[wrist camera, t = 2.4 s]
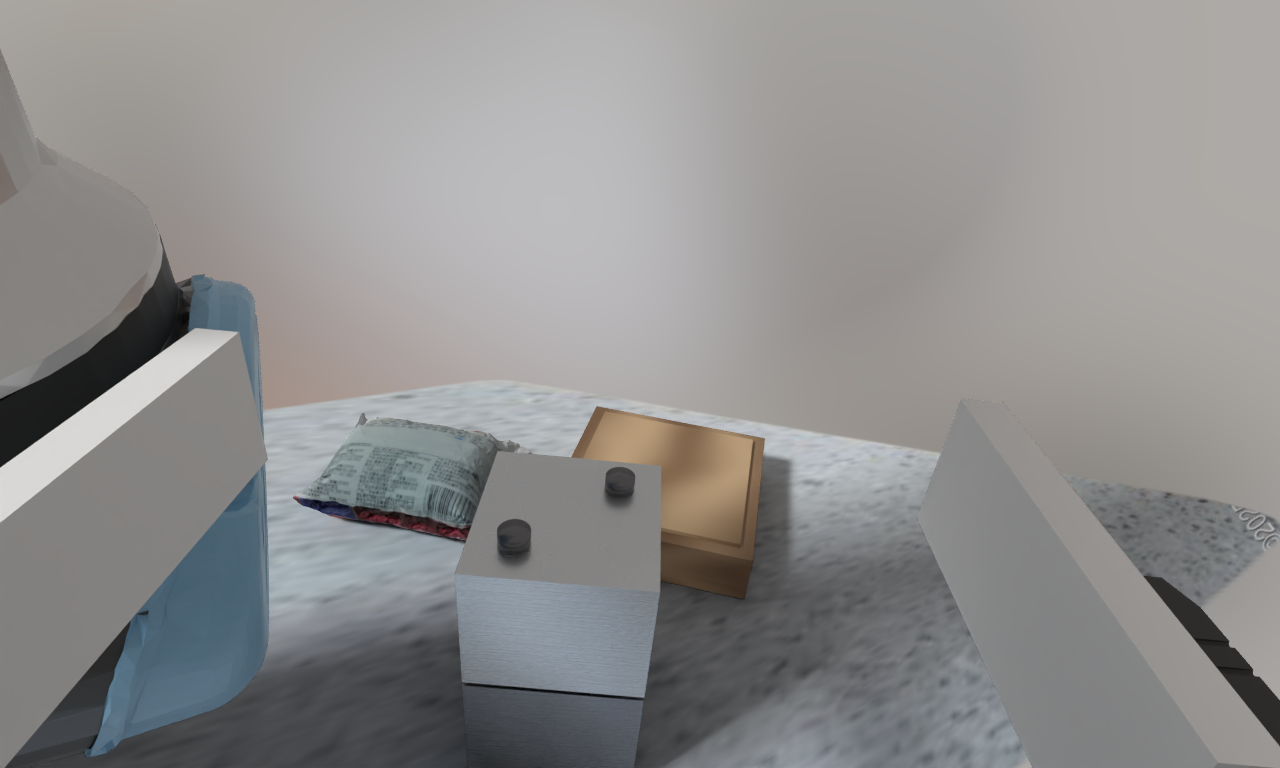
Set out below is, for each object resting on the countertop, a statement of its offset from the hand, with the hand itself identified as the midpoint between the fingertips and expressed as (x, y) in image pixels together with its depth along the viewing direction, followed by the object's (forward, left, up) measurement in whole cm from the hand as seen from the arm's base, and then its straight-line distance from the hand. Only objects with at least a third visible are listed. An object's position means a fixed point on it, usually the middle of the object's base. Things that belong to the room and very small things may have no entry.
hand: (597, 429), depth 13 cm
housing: (-3, +9, -23) cm, 25 cm away
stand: (-1, +24, -23) cm, 33 cm away
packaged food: (-16, +21, -23) cm, 35 cm away
